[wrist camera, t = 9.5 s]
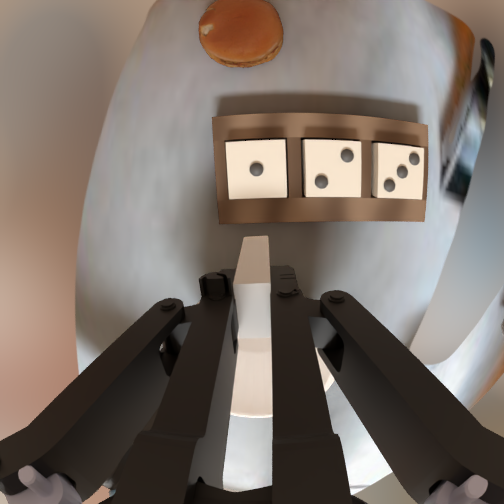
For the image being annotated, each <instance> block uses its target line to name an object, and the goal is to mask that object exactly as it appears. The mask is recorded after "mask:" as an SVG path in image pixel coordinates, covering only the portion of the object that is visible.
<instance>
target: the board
mask: <svg viewBox="0 0 504 504" xmlns="http://www.w3.org/2000/svg"><path fill="white" fill-rule="evenodd" d="M212 127H213V144H214V160H215V174H216V188H217V201H218V214H219V224H239V223H271V222H319V221H411V222H424V220H425V210H426V198H427V182H428V125H425V124H419V123H413V122H407V121H400V120H393V119H386V118H377V117H368V116H357V115H344V114H325V113H262V114H243V115H230V116H218V117H212ZM274 138H286V158H287V190H288V194H287V197H282V198H250V199H229V190H228V175H227V159H226V143H225V142H228V141H233V140H249V139H274ZM300 138H324V139H348V140H353V141H359V142H361V197H306V196H305V195H304V194H302V174H301V141H300ZM371 141H377V142H387V143H397V144H405V145H411V147H419V148H424V174H423V193H422V200H420V199H399V198H377V197H375V196H373V195H371V172H372V149H371Z"/></svg>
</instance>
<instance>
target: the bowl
mask: <svg viewBox="0 0 504 504" xmlns="http://www.w3.org/2000/svg"><path fill="white" fill-rule="evenodd" d="M197 304H199V302H198V303H197ZM238 344H239V347H238V355H237V363H236V371H235V379H234V387H233V395H232V403H231V411H230V414H231V415H235V416H241V417H250V418H265V417H273V411H272V351H271V338H246V339H239V333H238ZM315 349H316V353H317V358H318V362H319V367H320V371H321V376H322V381H323V385H324V390H325V392H326V391H327V389H328V388H329V387H330V385H331V384H332V383H333V381H334V377H333V376H332V374H331V373H330V371H329V370H328V368H327V366H326V365H325V363H324V362H323V360H322V359H321V357H320V355H319V354H318V351H317V348H315Z"/></svg>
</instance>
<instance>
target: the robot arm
mask: <svg viewBox="0 0 504 504" xmlns="http://www.w3.org/2000/svg"><path fill="white" fill-rule="evenodd" d="M199 284H200V290H201V296H202V297H201V300H200V302H199V304H196V305H192V306H187V307H184V305H183V302H182V301H181V300H179V299H176V298H168V299H164V300H162V301H159V302H157V303H156V304H155V305H154V306H152V307H151V308H150V309H149V310H148V311H147V312H146V313H145V314H144V315H143V316H141V317H140V318H139V319H138V320H137V321H136V322H135V323H134V324H133V325H132V326H131V327H130V328H128V329H127V330H126V331H125V332H124V333H123V334H122V335H121V336H120V337H119V338H118V339H117V340H116V341H114V342H113V343H112V344H111V345H110V346H109V347H108V348H107V349H106V350H105V351H104V352H103V353H102V354H101V355H100V356H99V357H97V358H96V359H95V360H94V361H93V362H92V363H91V364H90V365H89V366H88V367H87V368H86V369H85V370H84V371H83V372H82V373H81V374H80V375H79V376H78V377H77V378H76V379H75V380H73V382H71V383H70V384H69V385H68V386H67V387H66V388H65V389H64V390H63V391H62V392H61V393H60V394H59V395H58V396H57V397H56V398H55V399H54V400H53V401H52V402H51V403H50V404H49V405H48V406H47V407H46V408H45V409H44V410H43V411H42V412H41V413H40V414H39V415H38V416H37V417H36V418H35V419H34V420H33V421H32V422H31V423H30V424H29V425H28V426H27V427H26V428H24V429H22V430H20V431H18V432H16V433H15V434H12V435H11V436H9V437H7V438H5V439H3V440H1V441H0V491H1V492H3V493H4V495H5V496H6V498H7V501H8V503H9V504H83V502H84V501H85V500H87V499H88V498H90V496H92V495H93V494H94V493H95V492H97V491H98V490H99V488H100V487H101V486H105V487H106V488H108V489H110V491H109V495H110V497H109V498H107V499H106V500H104V501H102V502H100V503H99V504H367V503H366V502H364V501H363V500H361V499H359V498H357V497H355V496H353V495H351V493H350V487H349V481H348V476H347V470H346V465H345V459H344V454H343V449H342V444H341V441H340V437H339V436H338V434H334V432H333V430H332V425H331V420H330V415H329V410H328V405H327V400H326V395H325V390H324V385H323V381H322V376H321V371H320V367H319V362H318V358H317V353H316V349H315V348H317V351H318V354H319V355H320V357H321V359H322V360H323V362H324V363H325V365H326V366H327V368H328V370H329V371H330V373H331V374H332V376H333V377H334V379H335V381H336V382H337V384H338V385H339V387H340V389H341V390H342V392H343V393H344V395H345V396H346V398H347V400H348V401H349V403H350V404H351V406H352V407H353V409H354V411H355V412H356V414H357V415H358V417H359V419H360V420H361V422H362V423H363V425H364V426H365V428H366V430H367V431H368V433H369V434H370V436H371V438H372V439H373V441H374V442H375V444H376V445H377V447H378V449H379V450H380V452H381V453H382V455H383V457H384V458H385V460H386V461H387V463H388V465H389V466H390V468H391V469H392V471H393V472H394V474H395V476H396V477H397V479H398V480H399V482H400V483H401V485H402V486H403V488H404V489H405V490H406V492H407V493H408V494H409V495H410V496H411V497H412V498H413V499H414V500H415V501H416V502H417V503H418V504H504V438H503V437H501V436H499V435H498V434H496V433H494V432H492V431H490V430H488V429H486V428H485V427H483V426H482V425H481V424H480V423H479V422H478V421H477V420H476V418H475V417H474V416H473V415H472V414H471V413H470V412H469V411H468V410H467V409H466V408H465V407H464V406H463V405H462V403H461V402H460V401H459V400H458V399H457V398H456V397H455V396H454V395H453V394H452V393H451V392H450V391H449V390H448V389H447V388H446V387H445V386H444V385H443V384H442V383H441V382H440V381H439V380H438V379H437V378H436V377H435V376H434V375H433V374H432V373H431V372H430V371H429V370H428V369H427V368H426V367H425V366H424V365H423V364H422V363H421V362H420V361H419V360H418V359H417V358H416V357H415V356H414V355H413V354H412V353H411V352H410V351H409V350H408V349H407V348H406V347H405V346H404V345H403V344H402V343H401V342H400V341H399V340H398V339H397V338H396V337H395V336H394V335H393V334H392V333H391V332H390V331H389V330H388V329H387V328H386V327H385V326H383V325H382V324H381V323H380V322H379V321H378V320H377V319H376V318H375V317H374V316H373V315H372V314H371V313H370V312H369V311H368V310H367V309H365V308H364V307H363V306H362V305H361V304H360V303H359V302H358V301H357V300H356V299H355V298H354V297H353V296H351V295H350V294H348V293H347V292H343V291H340V290H334V291H328V292H325V293H324V294H322V295H321V298H320V300H313V299H308V298H305V297H304V296H303V294H302V292H301V290H300V289H298V285H297V281H296V277H295V273H294V269H293V268H291V267H290V266H273V267H270V261H269V242H268V236H252V237H244V239H243V243H242V247H241V252H240V256H239V260H238V265H237V269H226V270H221V271H220V272H213V273H208V274H205V275H203V276H201V277H200V278H199ZM238 333H239V339H246V338H271V351H272V411H273V440H272V486H267V487H263V488H258V489H253V490H248V491H242V492H230V491H226V490H223V469H224V460H225V452H226V444H227V436H228V428H229V420H230V411H231V403H232V395H233V387H234V379H235V371H236V363H237V355H238V347H239V344H238ZM161 344H163V348H162V349H161V350H159V349H160V346H161Z"/></svg>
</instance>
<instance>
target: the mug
mask: <svg viewBox="0 0 504 504" xmlns="http://www.w3.org/2000/svg"><path fill="white" fill-rule="evenodd" d="M501 329H502V334H503V336H504V320H503V322H502V324H501Z"/></svg>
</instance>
